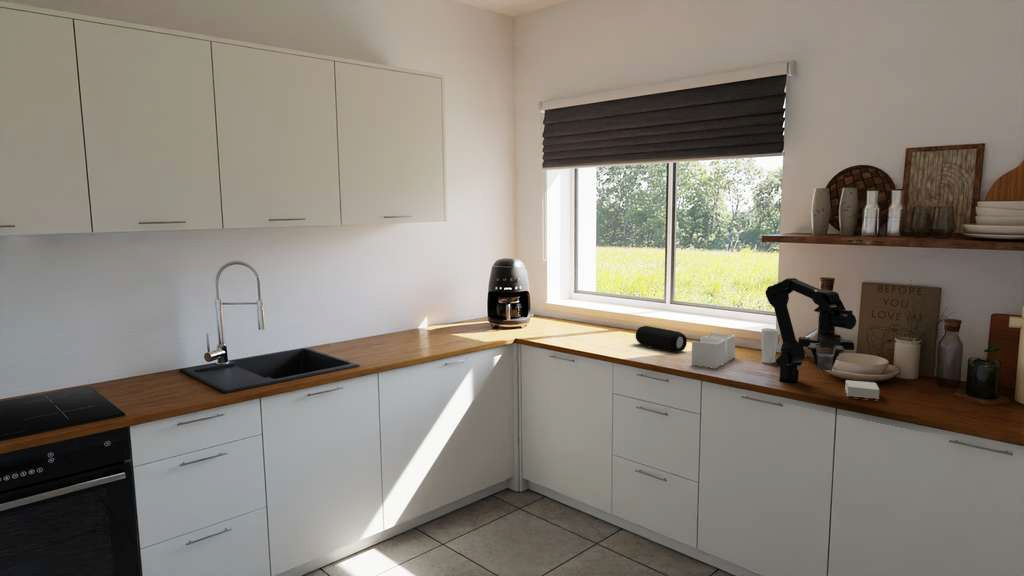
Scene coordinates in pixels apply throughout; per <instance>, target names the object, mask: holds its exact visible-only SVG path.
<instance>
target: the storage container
mask: <svg viewBox="0 0 1024 576" xmlns="http://www.w3.org/2000/svg"><path fill="white" fill-rule="evenodd" d="M699 340H700V341H698V340H697V341H695V340H692V342H691V364H692V365H691V366H695V365H698V366H697V367H702V366H705V367H704V368H708V367H712V368H711V369H715V368H716V369H718V368H719V366H720V365H721V366H723V365H724V364H725V363H728V362H730V361H732V360H733V358H734V359H735V357H736V356H735V355H736V354H735V353H736V334H727V333H718V332H711V333H710V336H706V335H703V336H702V337H700V338H699ZM731 359H732V360H731ZM729 360H730V361H729ZM722 364H723V365H722ZM721 366H720V367H721ZM717 367H718V368H717Z"/></svg>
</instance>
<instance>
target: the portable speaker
mask: <svg viewBox="0 0 1024 576" xmlns="http://www.w3.org/2000/svg"><path fill="white" fill-rule="evenodd" d="M635 340H636V341H637V343H639V344H640V345H642V346H644V345H645V347H649V346H650V348H654V347H655V349H658V348H659V349H660V350H663V349H664V350H663V351H667V350H668V352H672V351H673V352H672V353H679V352H683V351H684V350H685V349H686V347H687V343H688V339H687V336H686V335H685V334H684V333H682V332H681V331H676V330H671V329H665V328H661V327H654V326H650V325H644V326H640V327H638V328H637V330H636V332H635Z"/></svg>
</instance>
